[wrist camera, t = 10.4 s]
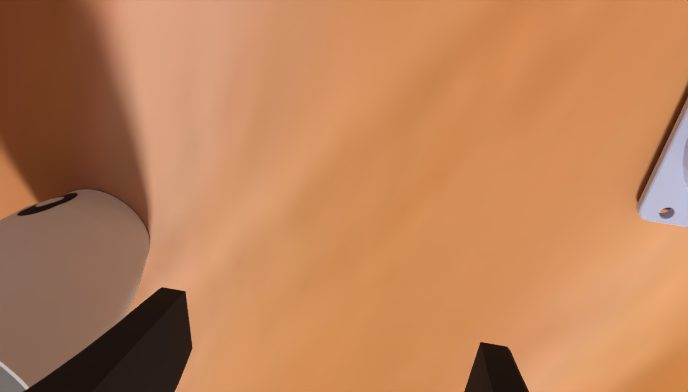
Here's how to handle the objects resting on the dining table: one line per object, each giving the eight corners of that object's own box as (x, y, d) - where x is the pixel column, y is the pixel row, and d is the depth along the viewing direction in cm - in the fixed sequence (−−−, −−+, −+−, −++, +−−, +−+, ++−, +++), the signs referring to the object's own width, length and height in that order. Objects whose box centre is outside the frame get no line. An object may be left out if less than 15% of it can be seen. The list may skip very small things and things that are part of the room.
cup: (71, 129, 23) (-143, 270, 15) (208, 241, 25) (89, 419, 17) (7, 221, 27) (-190, 374, 19) (131, 311, 29) (3, 484, 21)
